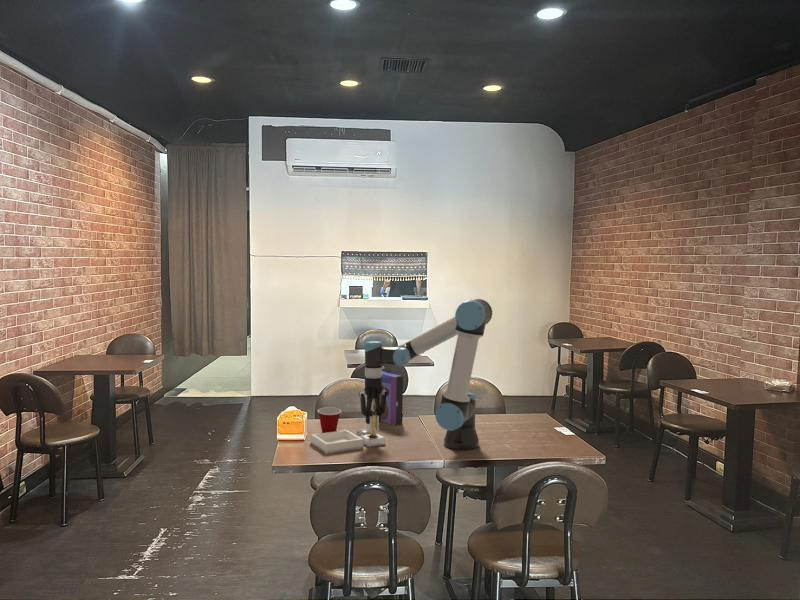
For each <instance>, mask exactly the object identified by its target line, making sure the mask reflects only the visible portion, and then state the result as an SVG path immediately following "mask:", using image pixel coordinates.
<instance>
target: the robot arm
mask: <svg viewBox="0 0 800 600" xmlns="http://www.w3.org/2000/svg"><path fill="white" fill-rule="evenodd" d="M454 315H455V316H453V317H451V318H449V319H447V320H446V321H444V322H442V323H441V324H438V325H436V326H435V327H433V328H431V329H430V330H428V331H426V332H423V333H422V334H420V335H418V336H416V337H414V338H412V339H411V340H408V341H407V342H405V343H403V344H400V345H398V346H383V342H382V341H378V340H371V341H367V342H365V345H364V347H365V348H364V389H363V391H362V392H358V395H359V398H360V399H359V400H360V408H361V409H360V410H361V415H362V416H365V423H366V425H367V428H366V429H367V430H368V431H370V432H372V417H371V416H370V414H371V409H372V405H373V398H374V400H375V408H376V410H377V432H378V431H380V423H381V422H382V421H381V415H382V414H383V413H385V404H386V396H387V393H388V392H387V391H385V390H383V389H382V377H381V376H382V372H383V365H392V366H407V365H408V364H409V362H410V361H412V360H414V359H415V358H416V357H418V356H420V355H422V354H424V353H425V352H427V351H429V350H431V349H433V348H435V347H437V346H439V345H441V344H443V343H445V342H447V341H448V340H450V339H452V338H455V337H456V336H457V338H456V343H455V348H454V353H453V358H452V362H451V368H450V373H449V376H448V377H449V379H448V383H447V388H446V390H445V391H444V392H443V393H442V395H441V399H440V404H439V405H438V406H437V408H436V410H435V417H434V418H435V420H436V422H437V424H438V425H439V426H440V428H442V429H443V430H445V431H446V433H445V436H444V437H443V445H444V446H445V447H446V448H449V449H453V450H459V449H460V450H463V451H465V450H467V449H468V450H474V449H477V448H479V446H480V441H479V437H478V433H477V429H476V405H477V403H476V402H477V401H476V400H477V399H476V394H475V393H473V392H469V388H470V383H471V379H472V374H473V369H474V364H475V359H476V355H477V349H478V345H479V340H480V338H482V337H484V333H485V329H486V325H487V324H489V323H490V321H491V319H492V317H493V309H492V306H491V305H490V303H489V302H488V301H487V300H484V299H482V298H475V299H467V300H465V301H463V302H461V303H460V304H459V305H458V307H457V308H456V310H455V314H454ZM380 394H382V395H381V403H380ZM476 447H477V448H476ZM473 448H474V449H473ZM460 450H459V451H460ZM468 450H467V451H468Z"/></svg>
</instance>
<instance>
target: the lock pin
mask: <svg viewBox="0 0 800 600" xmlns="http://www.w3.org/2000/svg"><path fill="white" fill-rule="evenodd" d="M370 416H371V417H372V432H370V438H376V437H377V434H378V431H377V410H375V409H372V408H371V414H370Z"/></svg>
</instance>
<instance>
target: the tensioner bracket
mask: <svg viewBox="0 0 800 600" xmlns="http://www.w3.org/2000/svg"><path fill="white" fill-rule="evenodd" d="M355 433H356V434H355V435H357V436H359V437H361V438H362V439H364V441H363V446H364V445H365V446H366V447H368V448H370V447H377V446H384V445H386V437H385V436H383V435H381V434H378V433H377V437H376V438H370V431H368V430H367V428H360V429H357V430H356V431H355Z"/></svg>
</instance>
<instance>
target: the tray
mask: <svg viewBox="0 0 800 600" xmlns="http://www.w3.org/2000/svg"><path fill="white" fill-rule="evenodd" d="M363 441H364V439H362V438H361V436H358V435H356V434H355V433H353V432H351V431H349V430H348V429H343V430H336V431H334V432H327V433H322V432H320V433H319V432H318V433H313V434H310V445H312V446H313V447H315V448H317V449H318V450H319V451H321V452H323V453H324V454H325V455H327V454H328V453H329V454H335V453H341V452H348V451H349V452H350V451H353V450H354V451H355V450H362V449H364V444H363ZM334 452H335V453H334Z"/></svg>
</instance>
